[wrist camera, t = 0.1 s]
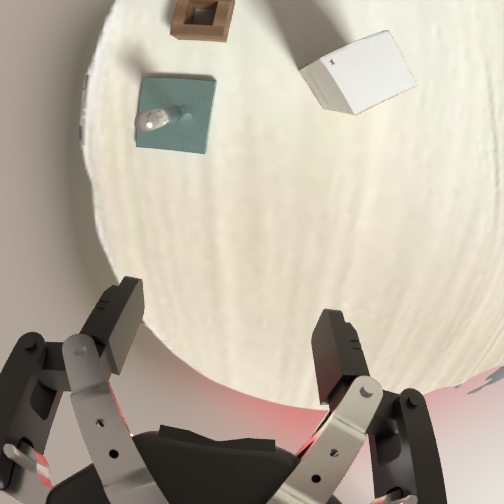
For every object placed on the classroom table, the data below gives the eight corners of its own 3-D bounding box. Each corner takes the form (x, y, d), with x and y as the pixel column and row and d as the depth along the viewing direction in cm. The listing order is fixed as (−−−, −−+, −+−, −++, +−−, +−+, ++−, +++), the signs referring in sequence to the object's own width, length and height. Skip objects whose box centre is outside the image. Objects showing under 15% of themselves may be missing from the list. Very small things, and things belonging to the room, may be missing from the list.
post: (145, 77, 31) (106, 75, 21) (217, 81, 31) (200, 76, 22) (138, 145, 36) (101, 165, 26) (205, 152, 37) (186, 174, 27)
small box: (323, 109, 33) (353, 117, 22) (297, 70, 30) (317, 57, 19) (371, 85, 31) (419, 85, 19) (348, 46, 28) (388, 27, 17)
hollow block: (187, 0, 25) (180, -9, 21) (235, 2, 25) (232, -8, 22) (178, 39, 28) (169, 34, 25) (226, 42, 28) (222, 36, 25)
